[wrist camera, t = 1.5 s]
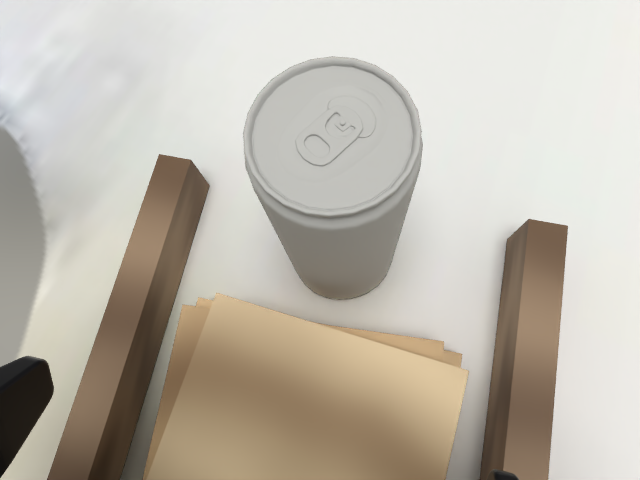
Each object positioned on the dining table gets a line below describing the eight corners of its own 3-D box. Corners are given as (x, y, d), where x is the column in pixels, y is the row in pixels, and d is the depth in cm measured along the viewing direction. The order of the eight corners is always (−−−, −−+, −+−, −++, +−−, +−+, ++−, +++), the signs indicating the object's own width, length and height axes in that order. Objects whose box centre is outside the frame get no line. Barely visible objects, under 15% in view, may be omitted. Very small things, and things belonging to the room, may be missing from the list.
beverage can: (411, 255, 23) (468, 129, 12) (341, 323, 22) (328, 261, 11) (343, 190, 24) (333, 20, 13) (274, 254, 24) (199, 133, 12)
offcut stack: (426, 561, 19) (447, 613, 15) (154, 487, 21) (102, 514, 17) (455, 351, 22) (480, 344, 17) (208, 299, 23) (175, 280, 19)
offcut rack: (500, 677, 18) (553, 783, 13) (62, 547, 20) (-27, 597, 16) (541, 245, 23) (590, 209, 18) (181, 180, 25) (140, 132, 20)
